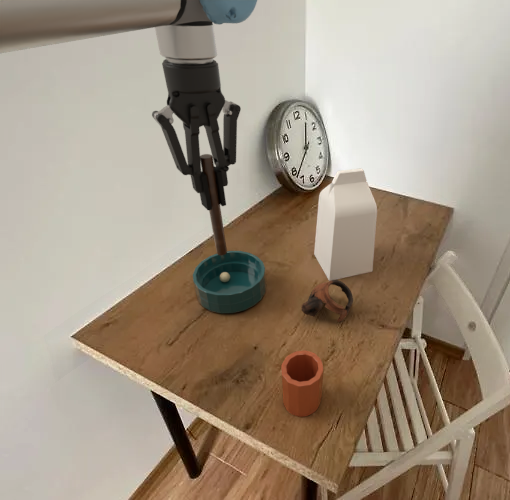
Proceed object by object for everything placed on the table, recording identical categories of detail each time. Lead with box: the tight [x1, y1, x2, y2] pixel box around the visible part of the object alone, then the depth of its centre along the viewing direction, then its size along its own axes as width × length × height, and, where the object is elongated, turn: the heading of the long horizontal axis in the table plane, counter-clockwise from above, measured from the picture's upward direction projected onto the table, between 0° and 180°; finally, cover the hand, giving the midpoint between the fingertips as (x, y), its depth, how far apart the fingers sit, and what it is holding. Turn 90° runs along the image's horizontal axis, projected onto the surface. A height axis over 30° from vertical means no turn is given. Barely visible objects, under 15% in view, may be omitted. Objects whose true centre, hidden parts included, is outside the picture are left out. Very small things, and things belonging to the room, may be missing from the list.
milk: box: [313, 167, 378, 282], centre depth 86 cm, size 12×12×26 cm
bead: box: [220, 272, 230, 282], centre depth 84 cm, size 2×2×2 cm
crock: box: [280, 349, 324, 418], centre depth 59 cm, size 7×7×9 cm
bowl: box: [192, 250, 267, 314], centre depth 81 cm, size 15×15×6 cm
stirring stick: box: [200, 153, 228, 255], centre depth 65 cm, size 2×2×20 cm
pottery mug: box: [301, 279, 354, 323], centre depth 77 cm, size 12×10×8 cm
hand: (214, 204), depth 64 cm, fingers closed on stirring stick, 2 cm apart
